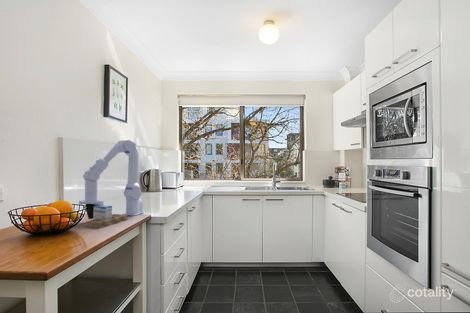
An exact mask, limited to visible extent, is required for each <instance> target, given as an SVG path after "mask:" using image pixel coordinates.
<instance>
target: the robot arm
mask: <svg viewBox="0 0 470 313" xmlns="http://www.w3.org/2000/svg"><path fill="white" fill-rule="evenodd" d="M119 153H124V154H125V155H127V157H128V165H127V166H128V167H127V170H128V171H127V183H126V184H125V188H124V190H123V196H124V197H125V212H124V213H122V215H127V216H132V217H133V216H137V215H140V214H144V211H143V210H144V208H143V200H142V199H141V196H142V190H141V186H140V184H139V183H138V182H139V180H138V178H139V151H138V148H137V144H136V143H135V142H134V141H133V140H132V139H127V140H119V141H117V143H115V144H114V146H113V147H111V149H110V150H109V151H108V153H107V154H106V155H105V156H104V157H103V158H100V159H96V161H95V163H94V164H93V165H92V166H90V167H89V169H88V170H86V171H84V174H83V175H82V177H83V179H84V183H85V184H84V199H81V200H78V205H85V206H86V207H87V208H86V210H85V212H86V215H87V218H88V220H93V212H94V206H97V205H99V206H102V205H104V201H100V200H98V180H100V176H101V175H102V173H103V172H104V171H105V170H106V169H107V168H108V166H109V163H110V161H112V159H114V158H115V157H116V156H117V155H118V154H119ZM83 208H84V209H85V207H84V206H83Z"/></svg>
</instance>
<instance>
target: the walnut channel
mask: <svg viewBox="0 0 470 313" xmlns="http://www.w3.org/2000/svg"><path fill="white" fill-rule="evenodd" d="M127 220H128V215H123V214H117V213H116V214H115V213H113V214H112V219H108V220H102V219H95V220H93V219H90V220H87V222H86V227H89V228H98V229H102V228H106V227H109V226H111V225H115V224H118V222H119V223H121V221H122V222H124V221H127Z"/></svg>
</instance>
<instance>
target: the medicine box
mask: <svg viewBox="0 0 470 313" xmlns="http://www.w3.org/2000/svg"><path fill="white" fill-rule="evenodd" d="M112 215H113V205H104V204H103V205H102V206H99V205H97V206H94V212H93V219H92V220H95V219H102V220H108V219H112Z"/></svg>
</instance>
